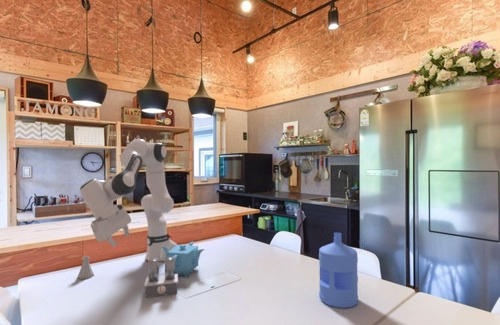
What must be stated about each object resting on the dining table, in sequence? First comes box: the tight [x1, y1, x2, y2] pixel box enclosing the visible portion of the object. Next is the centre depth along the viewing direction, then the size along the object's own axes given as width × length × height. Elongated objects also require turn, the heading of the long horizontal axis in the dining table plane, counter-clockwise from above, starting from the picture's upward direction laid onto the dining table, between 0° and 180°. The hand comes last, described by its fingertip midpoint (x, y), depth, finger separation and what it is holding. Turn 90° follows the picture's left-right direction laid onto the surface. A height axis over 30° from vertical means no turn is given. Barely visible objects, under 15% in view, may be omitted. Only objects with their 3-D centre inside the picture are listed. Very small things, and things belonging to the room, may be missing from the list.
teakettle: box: [161, 241, 206, 278], centre depth 151 cm, size 19×19×15 cm
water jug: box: [318, 232, 359, 309], centre depth 120 cm, size 16×16×28 cm
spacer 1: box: [148, 258, 160, 282], centre depth 127 cm, size 4×4×9 cm
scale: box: [144, 274, 179, 298], centre depth 128 cm, size 14×9×6 cm, turn 105°
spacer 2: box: [164, 257, 175, 280], centre depth 129 cm, size 4×4×9 cm
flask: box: [77, 255, 95, 280], centre depth 146 cm, size 7×7×10 cm
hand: (122, 240), depth 126 cm, fingers open, 8 cm apart
